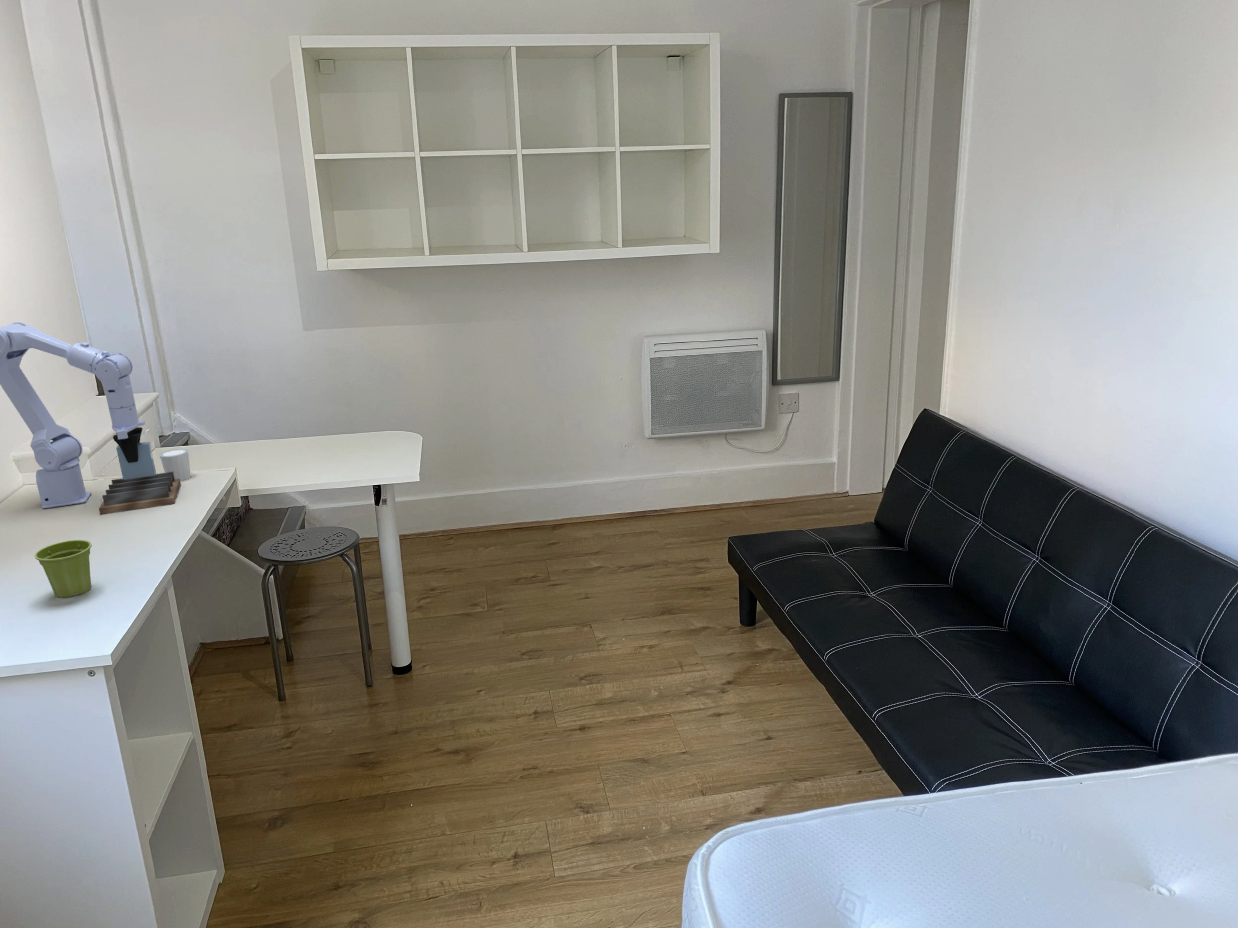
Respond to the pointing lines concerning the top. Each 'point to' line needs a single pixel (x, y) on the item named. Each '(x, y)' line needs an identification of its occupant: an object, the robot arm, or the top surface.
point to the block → (138, 463)
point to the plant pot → (67, 566)
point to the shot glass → (176, 463)
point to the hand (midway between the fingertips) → (133, 460)
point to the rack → (140, 493)
